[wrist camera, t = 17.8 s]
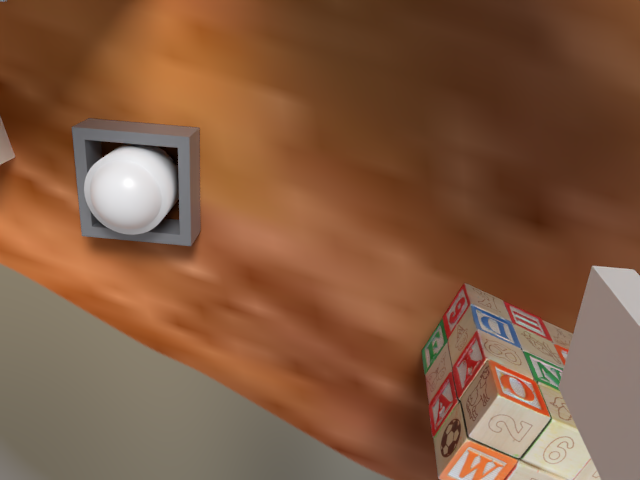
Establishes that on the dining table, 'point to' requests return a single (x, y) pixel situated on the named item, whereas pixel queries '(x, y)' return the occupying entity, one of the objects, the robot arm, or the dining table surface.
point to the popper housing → (180, 137)
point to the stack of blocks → (500, 395)
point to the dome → (132, 188)
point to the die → (5, 145)
